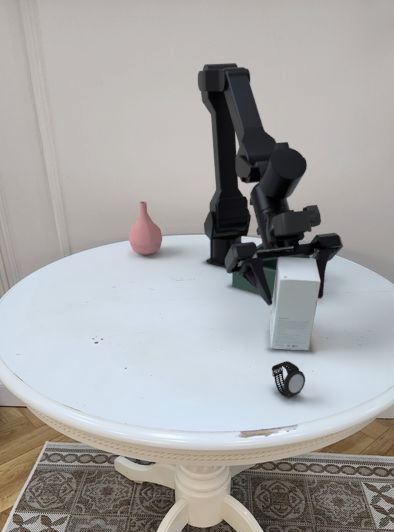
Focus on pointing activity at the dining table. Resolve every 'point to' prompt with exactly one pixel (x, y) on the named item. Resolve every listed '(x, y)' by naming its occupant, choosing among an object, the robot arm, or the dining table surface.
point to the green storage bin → (269, 272)
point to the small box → (294, 303)
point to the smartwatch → (288, 379)
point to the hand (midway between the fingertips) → (295, 301)
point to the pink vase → (145, 233)
